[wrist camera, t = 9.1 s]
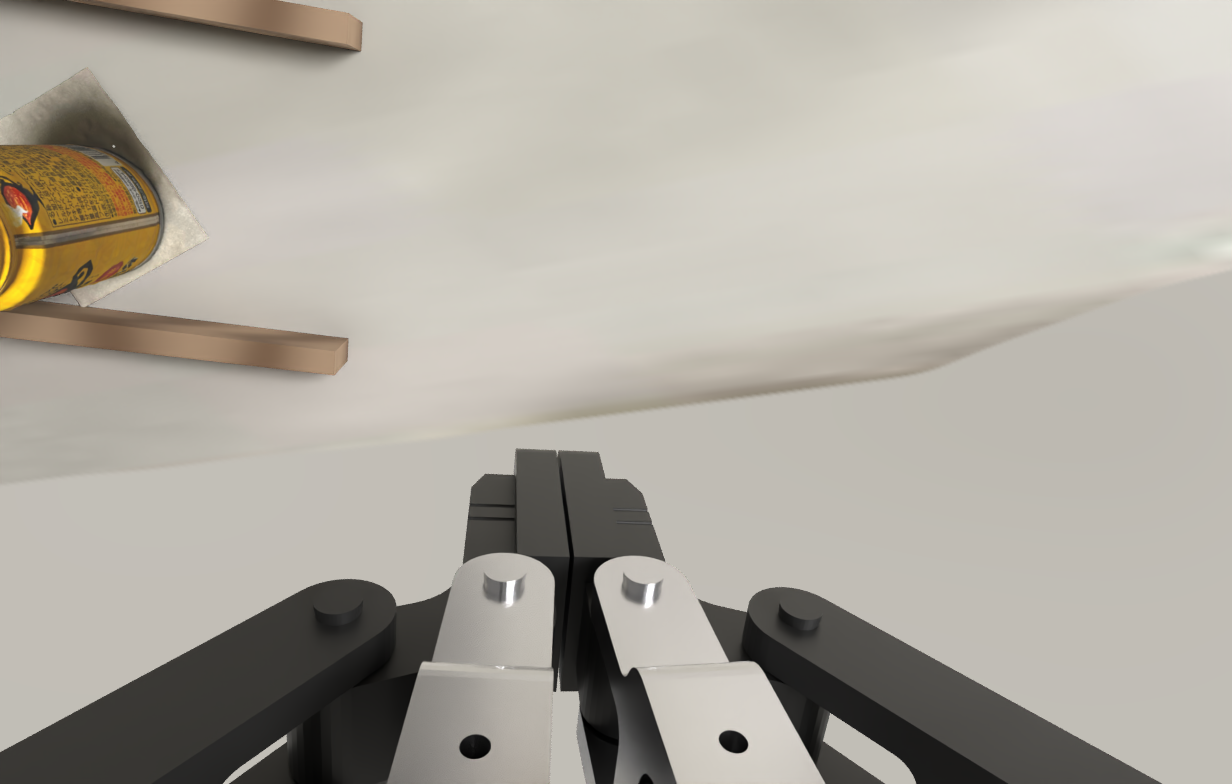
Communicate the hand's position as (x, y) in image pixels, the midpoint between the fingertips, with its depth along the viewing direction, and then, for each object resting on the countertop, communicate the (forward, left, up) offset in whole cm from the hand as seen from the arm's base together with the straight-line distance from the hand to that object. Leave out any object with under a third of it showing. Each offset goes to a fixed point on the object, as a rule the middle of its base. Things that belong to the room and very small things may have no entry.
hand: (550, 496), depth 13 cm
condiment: (-11, -18, -26) cm, 34 cm away
